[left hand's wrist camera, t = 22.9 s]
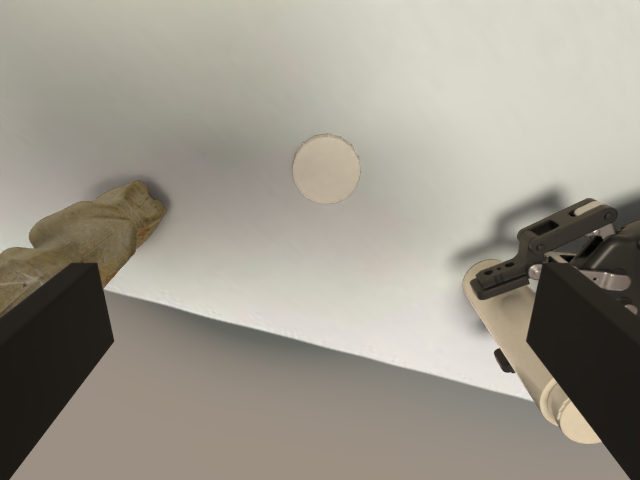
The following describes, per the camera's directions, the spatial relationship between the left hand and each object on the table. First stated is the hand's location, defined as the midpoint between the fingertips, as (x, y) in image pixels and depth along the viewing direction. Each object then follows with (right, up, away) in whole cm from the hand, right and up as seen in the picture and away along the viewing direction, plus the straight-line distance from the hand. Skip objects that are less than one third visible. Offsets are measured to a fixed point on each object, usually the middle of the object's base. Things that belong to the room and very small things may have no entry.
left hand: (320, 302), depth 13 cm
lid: (0, +7, +21) cm, 22 cm away
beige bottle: (+15, -2, +26) cm, 30 cm away
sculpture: (-16, +4, +24) cm, 29 cm away
